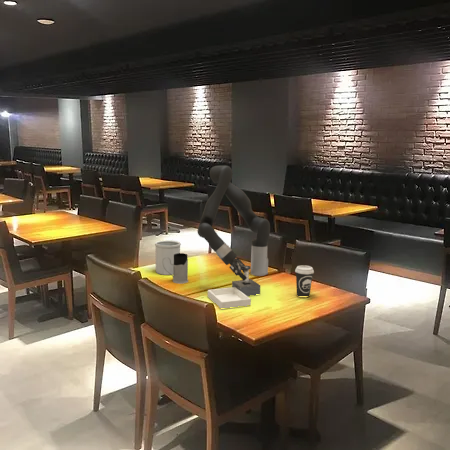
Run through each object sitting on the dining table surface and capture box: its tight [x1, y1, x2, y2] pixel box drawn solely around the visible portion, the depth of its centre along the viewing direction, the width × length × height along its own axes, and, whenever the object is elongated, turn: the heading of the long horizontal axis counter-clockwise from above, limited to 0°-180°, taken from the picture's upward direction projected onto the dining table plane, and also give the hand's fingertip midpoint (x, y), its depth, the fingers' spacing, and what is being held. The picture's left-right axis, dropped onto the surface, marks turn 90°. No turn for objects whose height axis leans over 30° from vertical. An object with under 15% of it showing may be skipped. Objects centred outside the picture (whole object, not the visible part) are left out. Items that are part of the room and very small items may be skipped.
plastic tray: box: [207, 286, 252, 309], centre depth 246 cm, size 15×19×4 cm
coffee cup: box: [294, 264, 315, 297], centre depth 255 cm, size 10×10×15 cm
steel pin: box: [243, 265, 251, 285], centre depth 258 cm, size 4×4×14 cm
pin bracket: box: [231, 278, 261, 297], centre depth 259 cm, size 11×11×5 cm
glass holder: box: [163, 252, 189, 285], centre depth 274 cm, size 9×14×15 cm, turn 94°
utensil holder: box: [154, 239, 182, 276], centre depth 292 cm, size 15×15×18 cm
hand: (247, 277), depth 258 cm, fingers open, 8 cm apart
